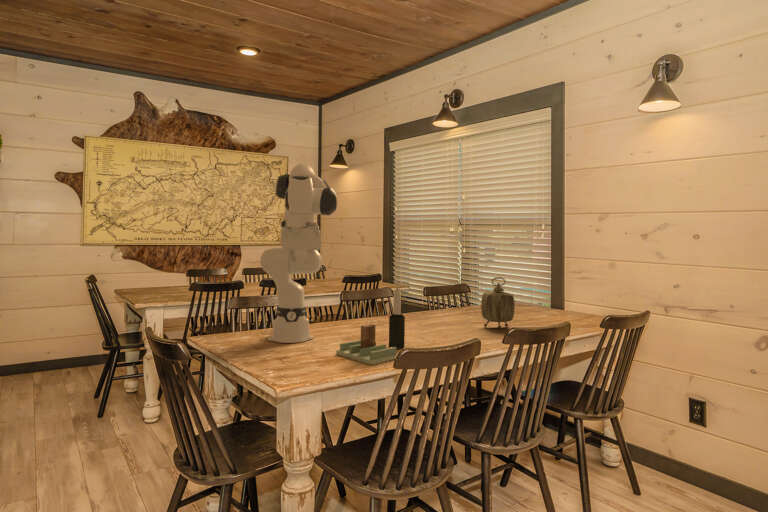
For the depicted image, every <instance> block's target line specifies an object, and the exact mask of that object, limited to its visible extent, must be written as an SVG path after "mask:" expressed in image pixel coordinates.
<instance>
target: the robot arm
mask: <svg viewBox="0 0 768 512" xmlns="http://www.w3.org/2000/svg"><path fill="white" fill-rule="evenodd" d="M274 191H275V195H276V196H277V198H279V199H283V200H284V201H285V202H284V208H285V212H284V215H283V220H282V221H280V224H279V225H280V228H281V230H280V244H281V247H274V248H269V249H265V250H264V251H263V252H262V253H261V255H260V259H259V261H260V262H259V263H260V266H261V269H262V270H263V272H265V273H266V274H268V275H269V277H270V278H271V279H272V281H273V282H274V284H275V287H276V292H277V306H276V318H275V319H274V320H273V321H272V334H271V335H270V336H269V337H268V338H267V341H270V342H275V343H276V342H277V343H282V344H284V343H285V344H293V343H302V342H303V343H304V342H306V341H309V340H314V335H312V334H310V320H309V319H308V318H307V316H306V310H307V309H306V306H305V289H304V287H303V285H302V284H300V283H298V282H296V281H294V280H293V279H292V278H291V275H310V274H315V273H318V272H319V270H320V269H321V267H322V264H323V257H322V255H321V254H320V252H319V251H320V250H321V248H322V236H321V230H320V227H319V225H318V224H317V222H315V217H314V216H315V215H322V216H331V215H333V214H334V213H335V212H336V210H337V208H338V196H337V193H336V191H335V190H334V189H333V187H330V185H329V184H328V183H327V181H326V180H325V179H324V178H321V177H319V176H318V175H317V174H316V173H315V170H314V168H312V167H311V166H310V165H309V164H307V163H298V164H296V165H295V166H294V167H293V168H292V169H291V171H290V172H289V174H288V172H286V173H285V174H281V175H279V176H278V177H277V179H276V181H275V183H274Z"/></svg>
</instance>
